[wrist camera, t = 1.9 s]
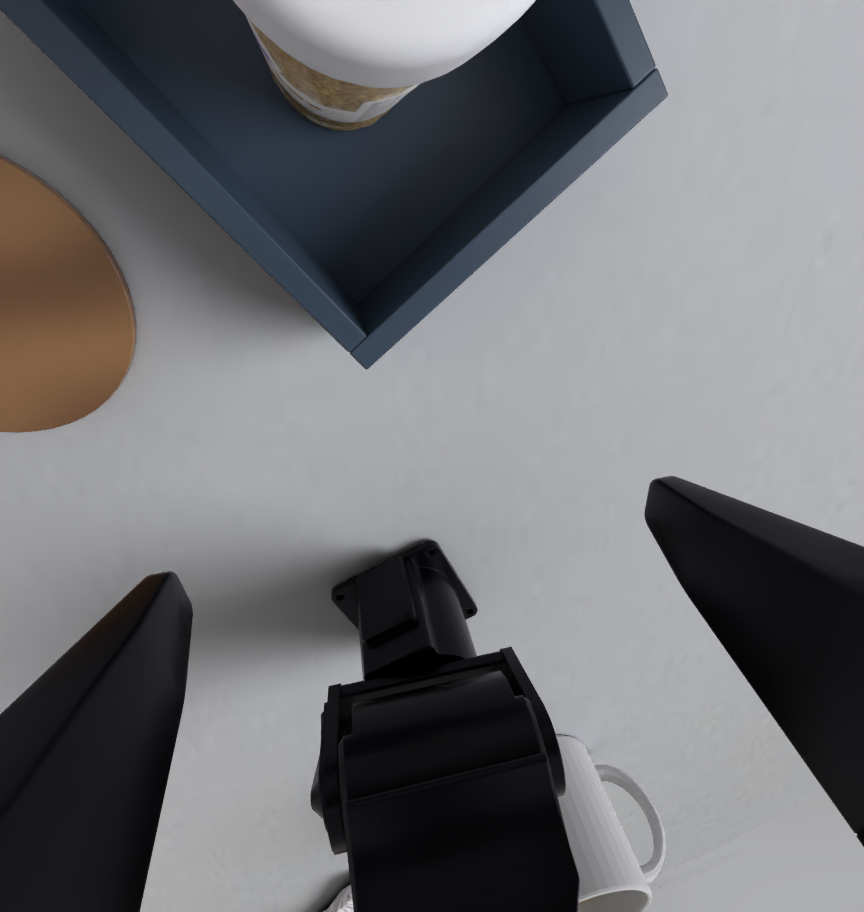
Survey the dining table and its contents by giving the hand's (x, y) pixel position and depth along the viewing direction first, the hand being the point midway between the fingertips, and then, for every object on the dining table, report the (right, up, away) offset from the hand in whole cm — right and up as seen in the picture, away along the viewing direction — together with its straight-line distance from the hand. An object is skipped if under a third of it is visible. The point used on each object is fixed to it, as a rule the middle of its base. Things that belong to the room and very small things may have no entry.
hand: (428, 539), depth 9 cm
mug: (+10, -25, +33) cm, 42 cm away
